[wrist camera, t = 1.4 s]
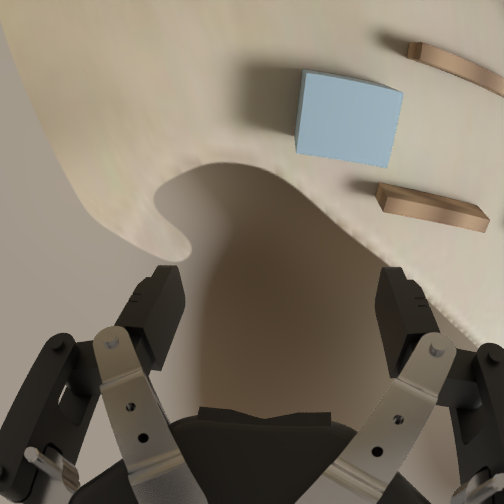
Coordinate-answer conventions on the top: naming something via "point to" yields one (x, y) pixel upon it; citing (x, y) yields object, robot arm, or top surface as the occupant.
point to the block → (346, 118)
